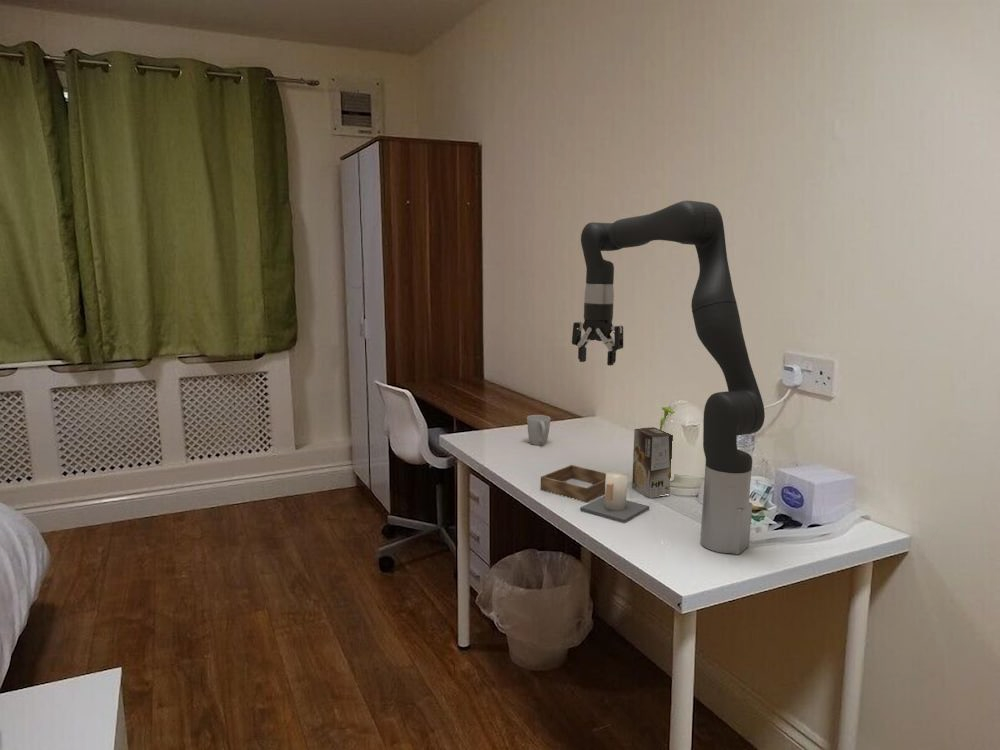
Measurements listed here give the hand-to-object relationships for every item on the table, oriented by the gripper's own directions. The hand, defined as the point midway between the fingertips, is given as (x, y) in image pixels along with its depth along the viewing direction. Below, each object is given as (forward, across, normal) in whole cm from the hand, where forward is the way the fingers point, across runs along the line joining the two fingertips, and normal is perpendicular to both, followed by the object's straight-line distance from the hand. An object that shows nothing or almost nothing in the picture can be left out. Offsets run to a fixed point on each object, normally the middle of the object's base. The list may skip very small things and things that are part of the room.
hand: (596, 363), depth 187 cm
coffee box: (+32, -16, -3) cm, 36 cm away
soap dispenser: (+32, -14, -15) cm, 38 cm away
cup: (+33, +33, -21) cm, 51 cm away
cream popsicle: (+31, -16, +15) cm, 38 cm away
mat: (+32, -16, +15) cm, 39 cm away
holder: (+32, -1, +8) cm, 33 cm away
